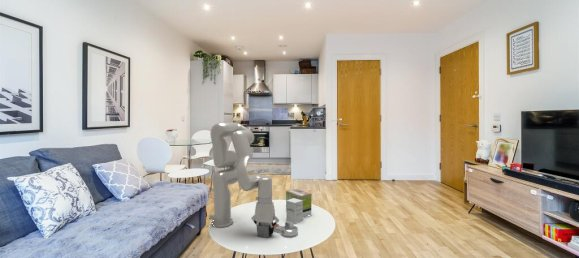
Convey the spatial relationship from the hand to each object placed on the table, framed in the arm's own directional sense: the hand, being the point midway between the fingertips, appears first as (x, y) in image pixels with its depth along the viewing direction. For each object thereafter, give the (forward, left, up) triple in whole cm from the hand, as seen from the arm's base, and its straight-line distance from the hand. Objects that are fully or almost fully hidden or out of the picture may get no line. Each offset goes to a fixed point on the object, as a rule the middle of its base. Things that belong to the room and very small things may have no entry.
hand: (265, 233), depth 140 cm
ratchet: (+6, +7, -1) cm, 9 cm away
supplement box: (+10, +24, -1) cm, 26 cm away
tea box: (+9, +36, -1) cm, 38 cm away
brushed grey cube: (0, 0, -1) cm, 1 cm away
